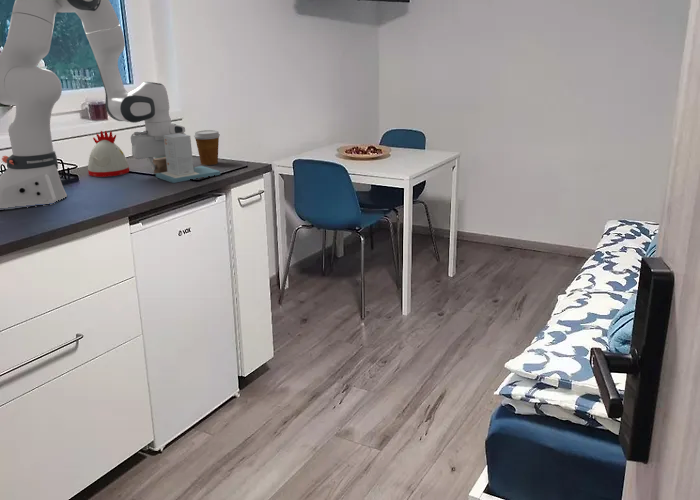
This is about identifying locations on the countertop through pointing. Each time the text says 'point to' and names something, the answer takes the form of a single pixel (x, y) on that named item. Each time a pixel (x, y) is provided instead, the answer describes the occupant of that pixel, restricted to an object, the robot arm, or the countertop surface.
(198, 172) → the light blue book
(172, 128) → the robot arm
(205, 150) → the disposable coffee cup
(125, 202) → the countertop surface
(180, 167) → the small box
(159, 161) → the walnut block
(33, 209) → the countertop surface
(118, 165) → the kitchen timer
